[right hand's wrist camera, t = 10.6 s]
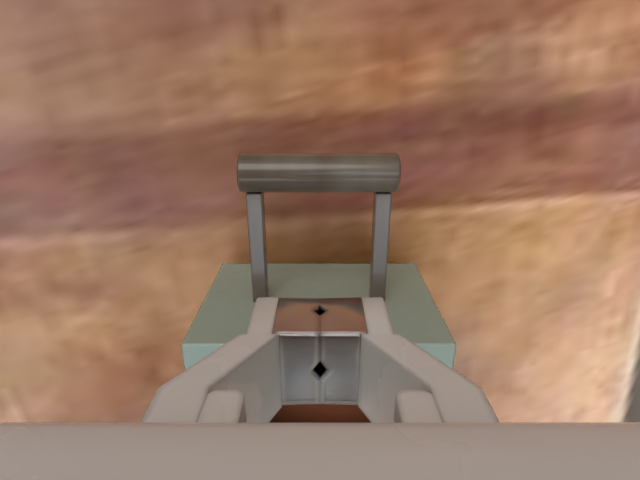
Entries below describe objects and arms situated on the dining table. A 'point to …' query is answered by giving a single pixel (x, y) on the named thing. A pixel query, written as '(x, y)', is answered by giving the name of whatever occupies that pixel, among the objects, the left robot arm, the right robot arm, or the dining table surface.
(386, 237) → the drawer
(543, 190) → the dining table surface
